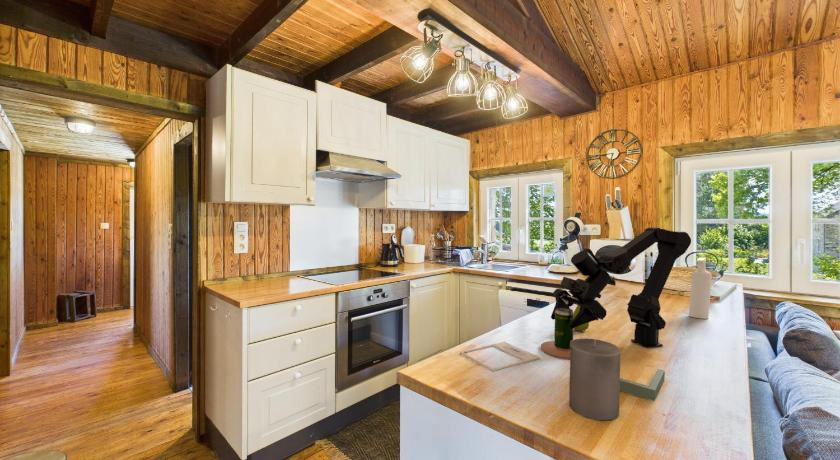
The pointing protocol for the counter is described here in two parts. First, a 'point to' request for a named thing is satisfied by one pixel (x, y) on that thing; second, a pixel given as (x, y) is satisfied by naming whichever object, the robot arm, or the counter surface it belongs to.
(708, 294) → the beige bottle
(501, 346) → the photo frame
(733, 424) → the counter surface
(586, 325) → the fruit
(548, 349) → the saucer
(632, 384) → the green u-shaped bracket
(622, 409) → the counter surface
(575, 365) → the pillar candle
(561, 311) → the beer can
